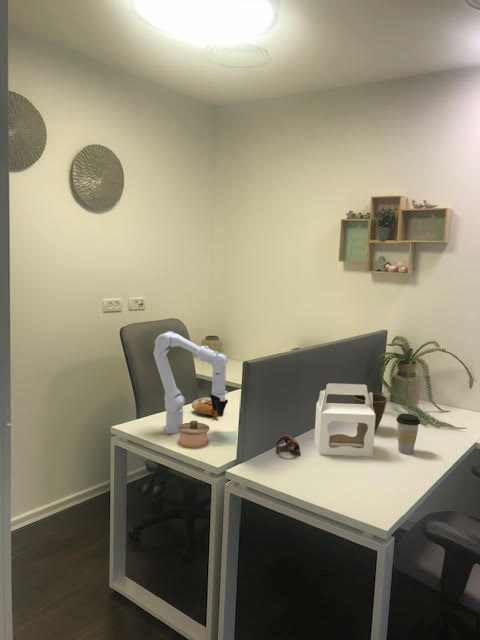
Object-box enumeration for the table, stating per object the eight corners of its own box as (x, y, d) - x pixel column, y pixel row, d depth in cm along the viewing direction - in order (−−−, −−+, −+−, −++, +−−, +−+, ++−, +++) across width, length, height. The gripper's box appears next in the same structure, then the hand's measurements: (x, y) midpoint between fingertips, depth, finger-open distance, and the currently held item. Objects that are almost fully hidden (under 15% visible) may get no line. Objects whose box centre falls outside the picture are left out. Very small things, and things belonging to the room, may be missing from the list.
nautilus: (228, 422, 239) (197, 426, 235) (219, 406, 259) (190, 409, 255) (228, 407, 237) (197, 410, 233) (218, 391, 258) (189, 394, 254)
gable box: (365, 444, 216) (369, 380, 213) (373, 456, 203) (378, 389, 200) (313, 442, 216) (317, 378, 213) (318, 454, 203) (322, 387, 200)
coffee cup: (402, 456, 204) (405, 421, 202) (389, 447, 213) (392, 413, 211) (422, 455, 207) (425, 419, 205) (408, 446, 216) (411, 412, 214)
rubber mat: (204, 434, 221) (204, 433, 221) (237, 432, 226) (237, 430, 225) (213, 447, 207) (213, 446, 207) (247, 444, 211) (248, 443, 211)
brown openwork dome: (303, 459, 199) (294, 443, 197) (281, 467, 201) (272, 451, 199) (301, 441, 210) (293, 425, 208) (280, 448, 212) (272, 433, 210)
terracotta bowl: (177, 439, 214) (177, 425, 214) (202, 437, 218) (203, 423, 217) (182, 449, 204) (183, 434, 203) (209, 446, 207) (209, 432, 207)
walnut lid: (175, 425, 214) (175, 417, 214) (205, 422, 218) (205, 415, 218) (181, 435, 202) (181, 428, 202) (212, 433, 206) (213, 425, 206)
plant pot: (391, 434, 230) (393, 400, 227) (363, 437, 224) (366, 402, 222) (371, 423, 243) (373, 391, 241) (345, 426, 238) (347, 393, 236)
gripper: (232, 386, 211) (231, 417, 213) (223, 377, 225) (222, 407, 227) (216, 386, 209) (215, 418, 211) (207, 378, 223) (207, 407, 225)
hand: (217, 412), depth 219 cm, fingers open, 7 cm apart
